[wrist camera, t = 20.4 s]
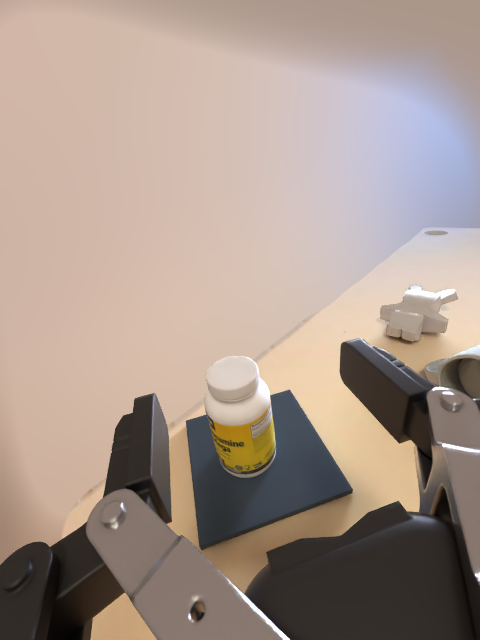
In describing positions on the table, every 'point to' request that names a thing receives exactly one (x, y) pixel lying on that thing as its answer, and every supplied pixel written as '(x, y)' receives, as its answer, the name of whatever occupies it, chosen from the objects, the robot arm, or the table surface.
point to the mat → (262, 477)
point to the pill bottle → (240, 416)
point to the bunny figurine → (417, 313)
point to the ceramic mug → (458, 372)
